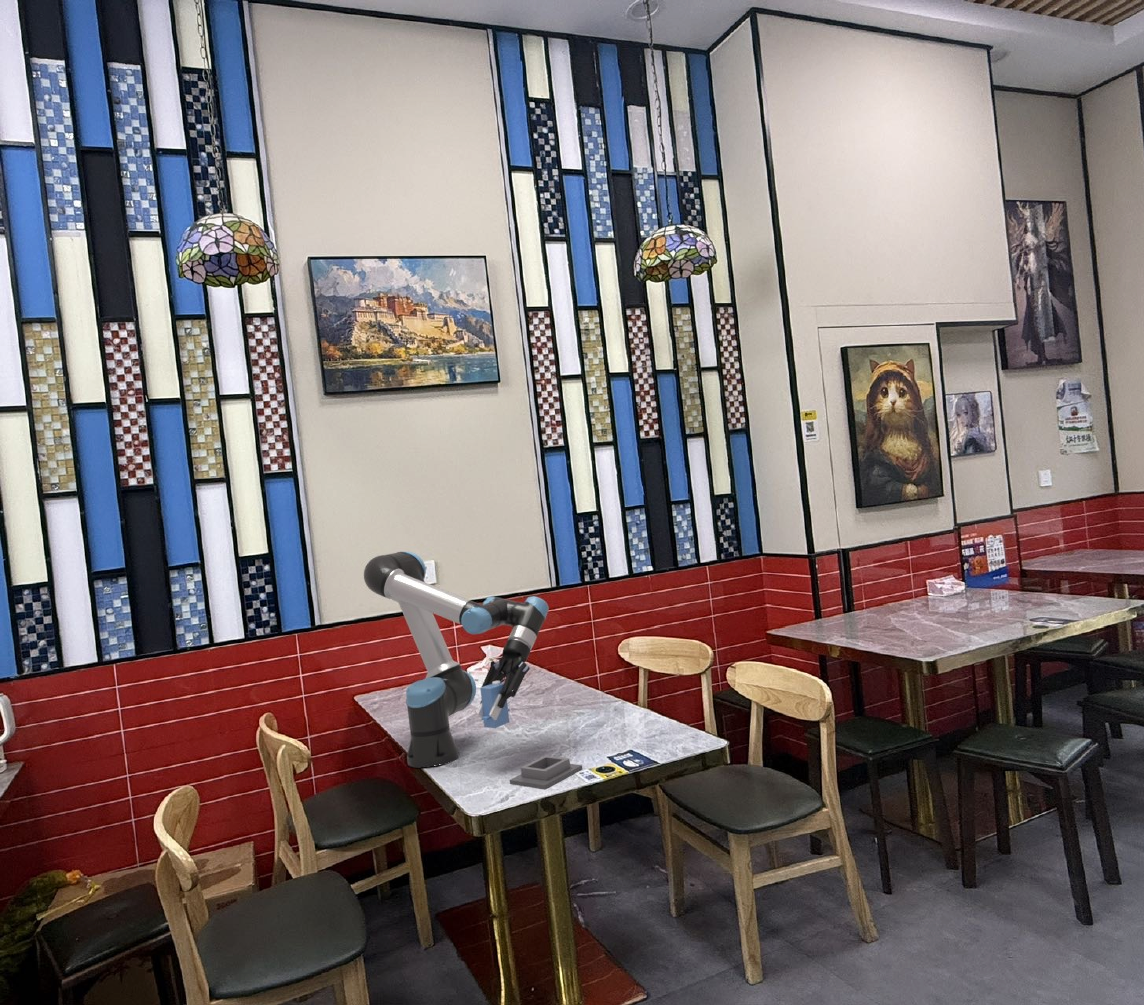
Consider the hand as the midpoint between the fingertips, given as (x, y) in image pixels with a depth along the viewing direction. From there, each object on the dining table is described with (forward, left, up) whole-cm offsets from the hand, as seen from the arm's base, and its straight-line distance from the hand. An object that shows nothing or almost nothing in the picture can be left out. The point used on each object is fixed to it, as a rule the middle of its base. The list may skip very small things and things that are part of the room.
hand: (486, 716), depth 229 cm
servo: (+2, +3, -3) cm, 5 cm away
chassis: (+17, -5, -16) cm, 23 cm away
